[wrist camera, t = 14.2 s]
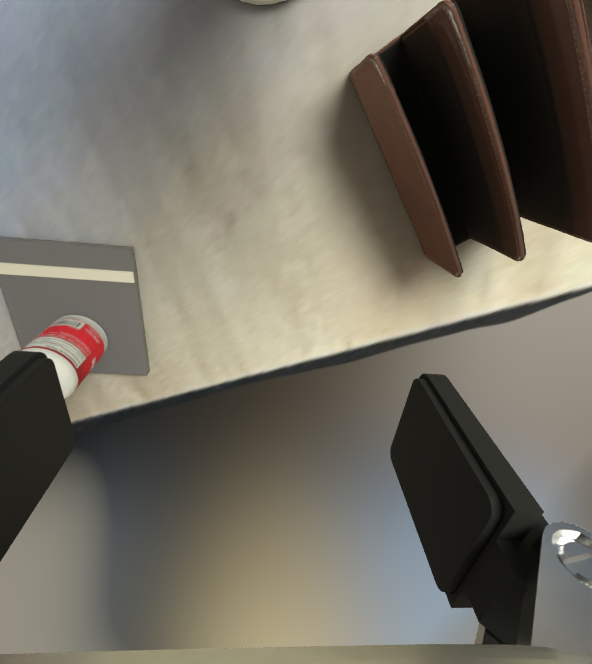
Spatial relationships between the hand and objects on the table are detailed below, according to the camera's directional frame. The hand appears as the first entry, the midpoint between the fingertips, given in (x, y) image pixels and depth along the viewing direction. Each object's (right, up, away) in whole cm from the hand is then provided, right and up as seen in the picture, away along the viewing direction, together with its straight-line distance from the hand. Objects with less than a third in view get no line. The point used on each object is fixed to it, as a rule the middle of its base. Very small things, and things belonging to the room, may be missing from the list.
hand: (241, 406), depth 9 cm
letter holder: (+15, +20, +25) cm, 35 cm away
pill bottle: (-24, +2, +31) cm, 39 cm away
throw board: (-24, +4, +31) cm, 39 cm away
